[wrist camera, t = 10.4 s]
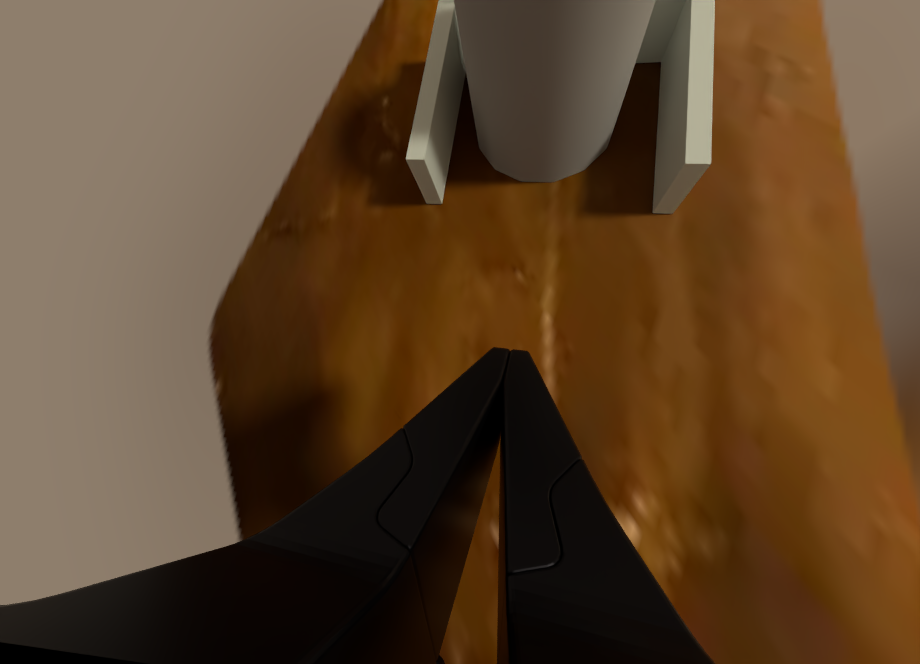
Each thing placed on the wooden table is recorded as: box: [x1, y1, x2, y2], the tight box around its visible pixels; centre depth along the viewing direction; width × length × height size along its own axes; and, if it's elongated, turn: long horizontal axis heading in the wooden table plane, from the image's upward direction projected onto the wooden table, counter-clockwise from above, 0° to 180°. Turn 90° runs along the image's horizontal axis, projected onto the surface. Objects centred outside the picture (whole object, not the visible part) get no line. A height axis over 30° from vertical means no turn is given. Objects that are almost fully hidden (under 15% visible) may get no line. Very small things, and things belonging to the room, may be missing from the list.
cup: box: [454, 0, 656, 182], centre depth 17 cm, size 8×8×10 cm
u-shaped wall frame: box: [406, 0, 715, 214], centre depth 19 cm, size 11×14×4 cm
